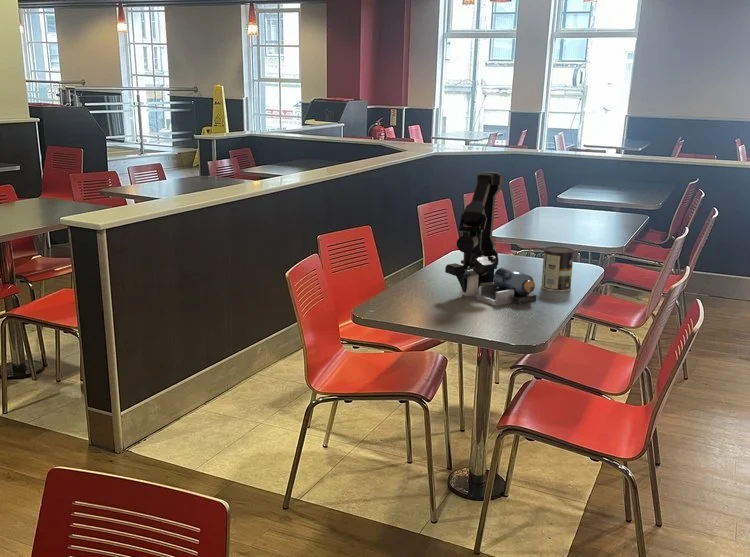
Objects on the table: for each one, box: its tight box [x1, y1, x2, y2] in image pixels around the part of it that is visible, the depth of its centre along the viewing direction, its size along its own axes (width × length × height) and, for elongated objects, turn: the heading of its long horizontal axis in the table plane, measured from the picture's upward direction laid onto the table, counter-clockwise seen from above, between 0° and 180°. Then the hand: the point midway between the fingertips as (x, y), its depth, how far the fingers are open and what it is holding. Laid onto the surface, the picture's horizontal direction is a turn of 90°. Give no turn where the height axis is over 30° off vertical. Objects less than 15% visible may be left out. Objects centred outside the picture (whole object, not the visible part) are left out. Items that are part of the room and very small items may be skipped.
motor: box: [475, 267, 537, 307], centre depth 232 cm, size 15×16×9 cm
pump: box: [462, 269, 479, 298], centre depth 237 cm, size 5×5×8 cm
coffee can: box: [541, 246, 575, 293], centre depth 245 cm, size 10×10×14 cm
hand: (470, 291), depth 238 cm, fingers closed on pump, 5 cm apart
